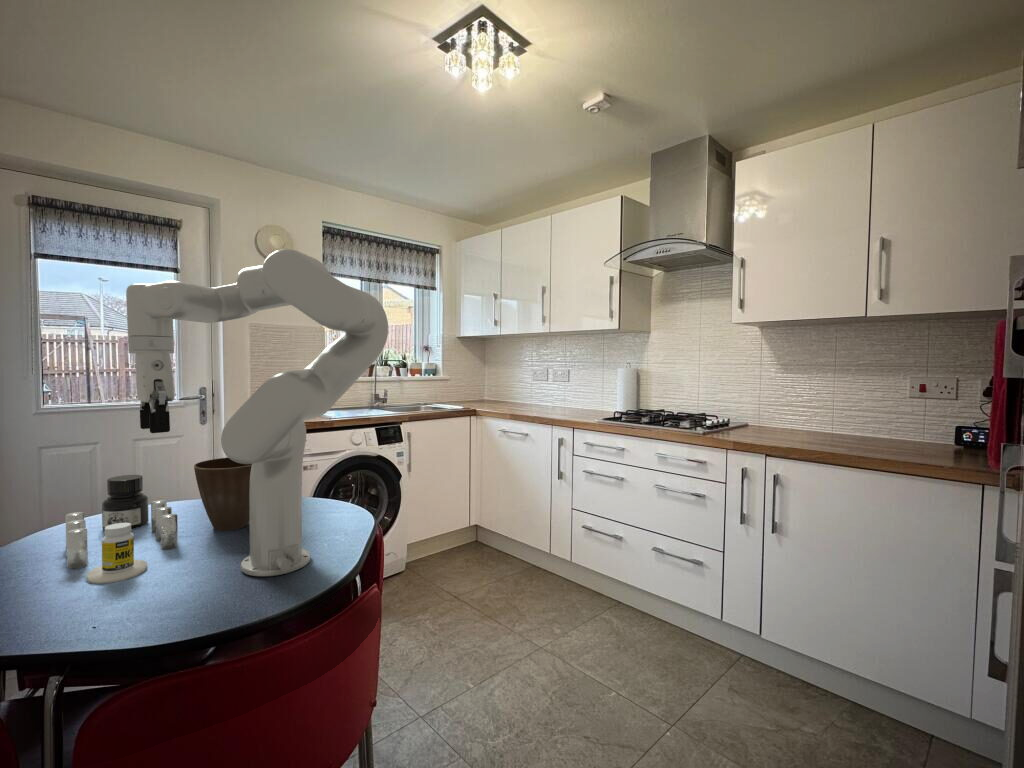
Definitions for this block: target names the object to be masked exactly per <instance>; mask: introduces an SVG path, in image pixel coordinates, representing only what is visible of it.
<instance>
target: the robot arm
mask: <svg viewBox="0 0 1024 768" xmlns="http://www.w3.org/2000/svg"><path fill="white" fill-rule="evenodd" d="M125 297H126V298H125V299H126V301H125V302H126V317H127V318H126V320H127V322H126V324H127V348H128V349H127V350H128V354H135V384H136V385H135V386H136V394H137V395H136V397H137V400H139V401H140V402H139V404H140V406H139V407H140V408H139V423H140V424H139V425H140V427H139V428H140V429H142V430H148V429H149V433H151V434H157V433H158V434H161V433H169V432H170V431H171V419H170V417H171V416H170V406H169V402H173V401H174V400H175V398H176V397H175V386H174V374H173V373H174V372H173V366H172V358H171V357H172V356H171V354H175V339H174V338H175V337H174V336H175V335H174V334H175V333H174V320H177V321H183V322H184V321H185V322H186V321H187V322H196V323H205V324H211V323H212V324H214V323H221V322H226V321H227V322H228V321H233V320H238V319H242V318H246V317H250V316H251V315H255V314H257V312H259V311H264V310H270V309H276V308H280V307H286V306H287V307H288V306H292V307H294V308H295V309H297V310H298V311H300V312H302V313H303V314H305V315H306V316H307V317H309V318H310V319H312V320H313V321H314V322H316V323H318V324H319V325H321V326H323V327H325V328H327V329H329V330H332V331H336V332H342V334H341V335H340V336H339V337H338V338H337V339H335V340H334V341H332V342H331V343H330V344H328V345H327V346H326V347H325V348H324V349H323V350H322V351H321V353H320V354H319V355H318V356H316V358H315V359H313V361H312V362H311V363H309V365H307V366H306V367H305V368H302V369H295V370H285V371H281V372H278V373H277V374H275V375H272V376H271V377H270V378H268V379H267V380H266V381H264V382H263V383H262V384H261V385H260V386H259V387H258V388H257V389H256V390H255V391H254V392H253V393H252V395H250V396H249V398H248V399H246V401H245V402H244V403H243V404H242V405H241V406H240V407H239V408H238V409H237V411H235V412H234V413H233V415H231V417H230V418H229V419H228V421H227V422H226V423H225V424H224V425H225V426H224V427H223V429H222V431H221V436H220V444H221V445H220V446H221V448H222V451H223V453H224V454H225V456H226V458H230V459H231V460H233V461H235V462H237V463H241V464H252V467H251V472H250V490H249V504H250V521H249V555H248V556H246V557H245V558H243V560H242V561H241V563H240V570H241V572H242V573H244V574H245V575H248V576H253V577H274V576H280V575H284V574H289V573H292V572H294V571H295V572H296V571H298V570H299V569H301V568H304V567H305V566H306V565H307V564H308V563H309V562H310V560H311V553H310V551H309V550H307V549H305V548H303V534H302V533H303V527H302V526H303V524H302V523H303V516H302V515H303V508H302V507H303V506H302V505H303V502H302V501H303V494H302V493H303V463H304V462H303V461H304V453H305V449H306V442H307V428H306V423H305V421H308V420H313V419H316V418H319V417H321V416H323V415H325V414H327V412H328V411H329V410H331V408H332V407H333V406H334V405H335V404H336V403H337V402H338V400H339V399H341V398H342V396H344V394H345V393H346V392H347V391H348V390H349V389H350V388H351V387H352V386H353V385H354V384H355V383H356V382H357V380H358V379H359V378H360V377H361V376H362V375H363V374H364V373H365V372H366V371H367V370H368V369H369V368H370V367H371V366H372V365H373V364H374V362H376V360H377V359H378V358H379V356H380V355H381V353H382V352H383V350H384V348H385V345H386V344H387V340H388V336H389V321H388V320H389V319H388V317H387V313H386V311H385V309H384V306H383V305H382V304H381V303H380V301H379V300H378V299H377V298H376V297H374V296H373V295H372V294H370V293H368V292H366V291H364V290H361V289H358V288H355V287H352V286H350V285H347V284H346V283H345V282H343V281H340V280H339V279H338V278H336V277H335V276H333V275H331V273H330V271H329V270H328V268H327V267H326V266H325V264H324V263H323V262H321V261H320V260H318V259H317V258H314V257H312V256H310V255H307V254H306V253H303V252H300V251H298V250H296V249H289V248H282V249H278V250H275V251H273V252H272V253H270V254H269V255H268V256H267V257H266V258H265V260H264V261H263V264H261V265H254V266H247V267H245V268H242V269H241V270H240V271H239V272H238V273H237V276H236V283H232V284H227V285H222V286H221V285H220V286H215V287H207V286H203V285H199V284H194V283H188V282H184V281H179V280H165V281H161V282H157V283H141V282H140V283H132V284H129V285H128V286H127V288H126V291H125Z"/></svg>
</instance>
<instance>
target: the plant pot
mask: <svg viewBox="0 0 1024 768" xmlns="http://www.w3.org/2000/svg"><path fill="white" fill-rule="evenodd" d="M251 467H252V464H241V463H237V462H235V461H233V460H231V459H230V458H228V457H220V458H213V459H209V460H208V459H206V460H202V461H199V462H197V463H195V464H193V470H194V475H195V480H196V484H197V489H198V492H199V495H200V499H201V502H202V505H203V507H204V510H205V512H206V515H207V517H208V519H209V522H210V523H211V525H212V527H213V530H215V531H218V532H229V531H230V530H232V531H235V530H236V529H237V530H239V529H240V528H241V529H243V528H246V527H247V526H248V525H249V524H250V504H249V490H250V472H251ZM245 526H246V527H245ZM237 530H236V531H237Z"/></svg>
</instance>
